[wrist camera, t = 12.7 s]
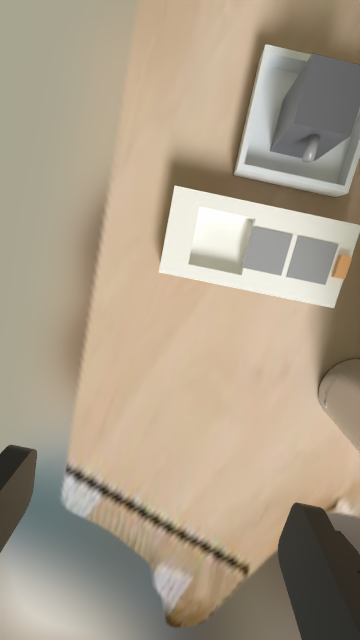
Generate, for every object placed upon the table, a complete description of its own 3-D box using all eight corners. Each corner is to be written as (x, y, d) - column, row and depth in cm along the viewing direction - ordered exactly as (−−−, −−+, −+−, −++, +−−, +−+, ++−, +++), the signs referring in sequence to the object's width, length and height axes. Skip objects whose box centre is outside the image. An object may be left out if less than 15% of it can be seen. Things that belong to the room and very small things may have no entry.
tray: (370, 86, 30) (387, 71, 27) (336, 197, 32) (348, 193, 30) (259, 61, 29) (265, 44, 27) (233, 175, 32) (236, 168, 29)
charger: (329, 109, 30) (372, 67, 23) (308, 180, 31) (342, 161, 24) (283, 98, 29) (312, 53, 23) (264, 171, 31) (286, 148, 24)
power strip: (344, 228, 33) (365, 225, 29) (319, 302, 35) (336, 309, 31) (175, 192, 32) (174, 184, 28) (161, 270, 35) (158, 272, 31)
